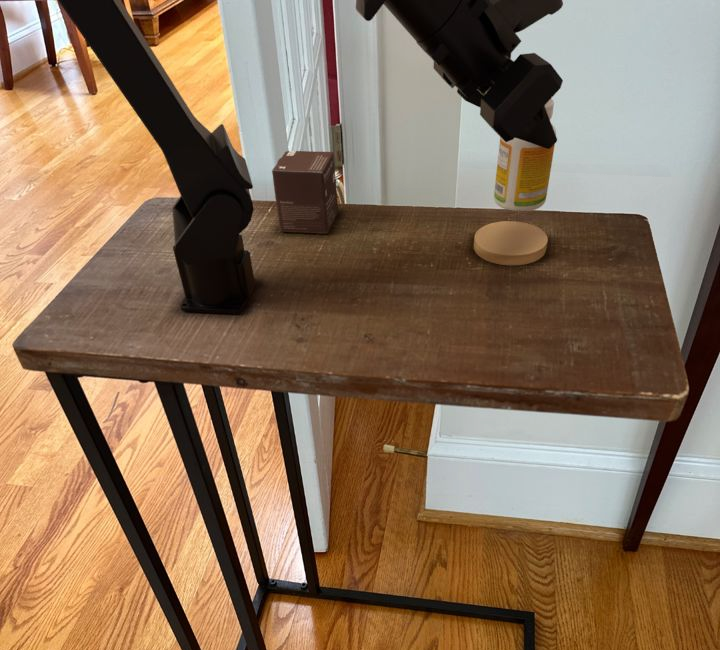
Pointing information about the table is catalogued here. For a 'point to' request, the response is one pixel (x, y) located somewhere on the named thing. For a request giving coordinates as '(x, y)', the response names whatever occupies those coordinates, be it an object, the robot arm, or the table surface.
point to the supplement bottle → (523, 172)
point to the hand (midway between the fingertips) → (541, 134)
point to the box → (305, 191)
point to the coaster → (510, 243)
